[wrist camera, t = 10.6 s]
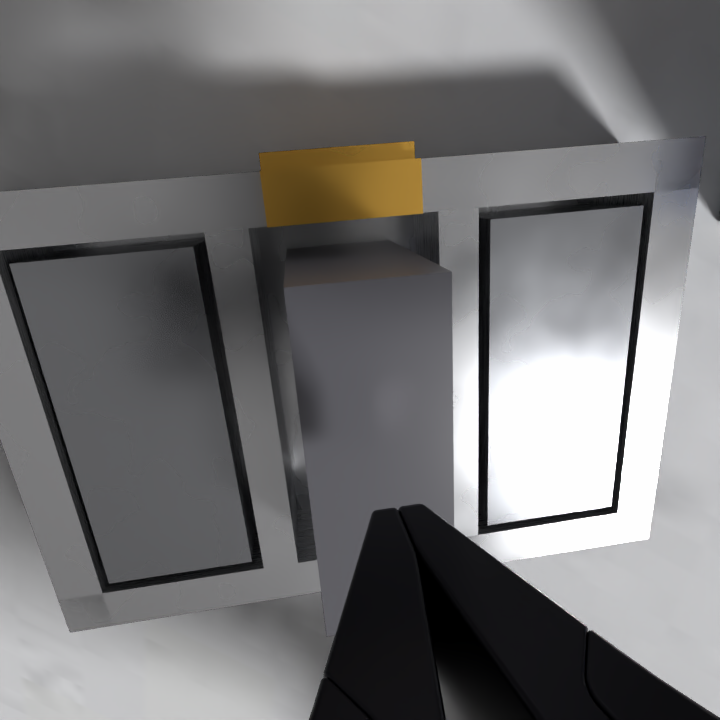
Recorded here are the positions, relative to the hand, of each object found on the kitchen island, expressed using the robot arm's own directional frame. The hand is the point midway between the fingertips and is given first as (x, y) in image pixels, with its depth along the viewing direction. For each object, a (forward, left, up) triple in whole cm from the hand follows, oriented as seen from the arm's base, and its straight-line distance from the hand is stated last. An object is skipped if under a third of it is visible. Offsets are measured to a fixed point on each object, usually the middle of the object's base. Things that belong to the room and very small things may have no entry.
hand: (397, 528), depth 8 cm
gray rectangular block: (0, 0, -8) cm, 8 cm away
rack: (0, 0, -8) cm, 9 cm away
